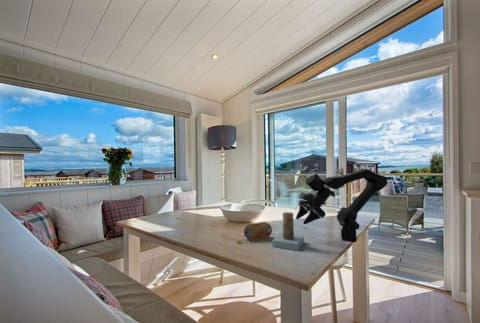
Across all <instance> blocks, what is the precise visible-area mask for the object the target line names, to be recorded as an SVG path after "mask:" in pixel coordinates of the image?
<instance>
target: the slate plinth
mask: <svg viewBox="0 0 480 323" xmlns="http://www.w3.org/2000/svg"><path fill="white" fill-rule="evenodd" d="M304 239H305V238H304V235H297V234H294V239H293V240H286V239H283V232H280V233H279V234H278V235H276V237H274V238H273V239H272V248H277V249H279V248H280V249H285V250H291V251H299V250H300V248H301V247H302V246H303V244H304V243H305V242H304V241H305V240H304Z"/></svg>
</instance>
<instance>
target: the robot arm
mask: <svg viewBox="0 0 480 323" xmlns="http://www.w3.org/2000/svg"><path fill="white" fill-rule="evenodd" d="M361 179H364V181H366V184H365V188H364V189H363V190H362V191H360V193H359V195H358V196H357V197H356V198H354V200H353V202H351V203H350V204H349V206H348V207H344V206H342V207H341V209H340V210H339V211H337V215H336V220H337V222H338V223H339V225H340V226H341V227H342V228H341V231H340V234H341V236H340V238H341V240H342V241H344V242H345V241H346V242H353V243H357V239H358V237H357V230H359V229H360V226H361V225H360V224H359V223H358V222H357V218H358V213H359V212H360V211H361V210H362V208H363V207H365V205H366V204H367V203H368V202H369V201H370V199H371V198H372V197H373V196H374V194H375V193H377V192H379V191H381V190H383V189H384V188H385V187H386V186H387V185H388V179H387V177H386V176H385V175H380V174H379V173H377V172H374V171H372V170H370V169H368V168H362V169H359V170H356V171H354V172H350V173H346V174H344V175H336V176H335V175H334V176H328V177H326V178H325V179H322V178H321V177H319V175H318V174H317V173H314V174H313V175H311V176H310V177H308V178H307V179H306V180H305V184H306V185H307V186H308V187H309V188H310V189H311V190H312V191H313V192H316V193H315V194H313V193H311V192H308V193H306V192H303V191H302V192H300V195H299V198H298V199H300V200H299V201H298V206H299V209H298V212H297V214H296V216H295V219H296V220H297V221H298V220H299V219H301V218H302V217H304V216H306V215H307V216H306V218H305V219H304V221H303V224H304V225H307V224H310V223H312V222H314V221H316V220H319V219H324V218H325V216H326V211H325V210H324V209H323V208H322V206H326V201H327V200H328V199H329V198H330V197H334V198H335V197H336V194H335V193H336V192H335V191H334V190H339V189H340V188H342V187H344V186H345V185H346V184H349V183H352V182H355V181H359V180H361ZM331 189H332V190H331Z"/></svg>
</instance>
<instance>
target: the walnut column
mask: <svg viewBox="0 0 480 323" xmlns="http://www.w3.org/2000/svg"><path fill="white" fill-rule="evenodd" d="M294 228H295V227H294V213H293V212H288V211H287V212H283V213H282V233H283V239H286V240H293V239H294V235H295V233H294Z"/></svg>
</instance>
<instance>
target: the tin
mask: <svg viewBox="0 0 480 323" xmlns="http://www.w3.org/2000/svg"><path fill="white" fill-rule="evenodd" d="M272 232H273V229H272V226H271V224H269V223H268V222H265V221H262V222H261V221H259V222H253V223H252V222H251V223H248V224H247V225H245V227H244V228H243V235H244V237H245V238H246V239H247V240H248V241H256V240H265V239H268V238H269V237H270V236H271V235H272Z"/></svg>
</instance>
